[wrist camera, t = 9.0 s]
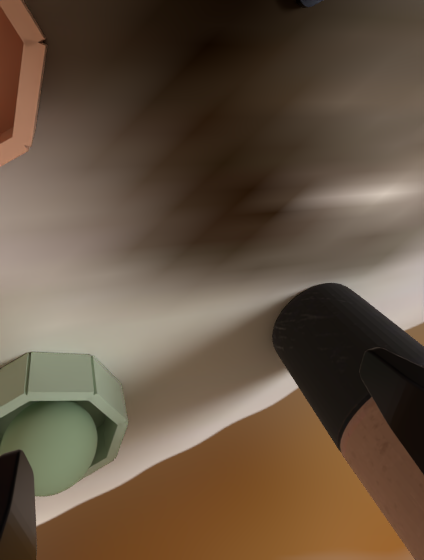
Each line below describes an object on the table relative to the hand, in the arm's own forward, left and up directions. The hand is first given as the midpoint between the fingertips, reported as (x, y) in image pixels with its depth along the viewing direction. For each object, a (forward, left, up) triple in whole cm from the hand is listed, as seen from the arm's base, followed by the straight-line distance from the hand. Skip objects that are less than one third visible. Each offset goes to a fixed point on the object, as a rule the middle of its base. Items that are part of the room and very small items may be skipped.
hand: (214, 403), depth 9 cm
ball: (+11, +8, -9) cm, 16 cm away
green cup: (+11, +8, -12) cm, 18 cm away
